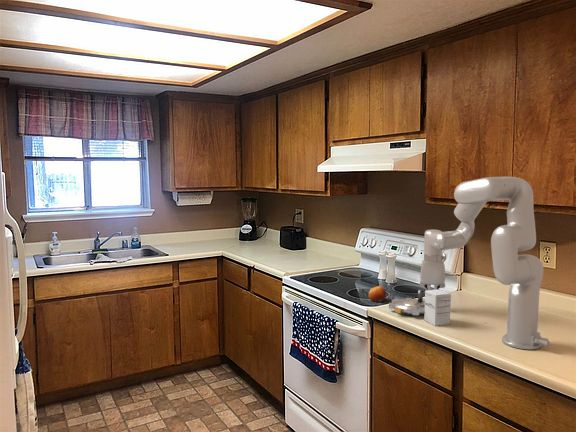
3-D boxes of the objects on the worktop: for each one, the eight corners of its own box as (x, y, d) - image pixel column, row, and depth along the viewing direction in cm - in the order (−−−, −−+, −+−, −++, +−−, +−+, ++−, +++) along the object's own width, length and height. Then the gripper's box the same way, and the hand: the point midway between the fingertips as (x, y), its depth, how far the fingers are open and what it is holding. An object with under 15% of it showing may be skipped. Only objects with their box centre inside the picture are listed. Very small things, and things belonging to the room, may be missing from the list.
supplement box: (423, 320, 189) (424, 290, 188) (439, 318, 191) (439, 288, 190) (434, 326, 182) (435, 295, 181) (450, 324, 184) (451, 293, 183)
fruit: (386, 301, 212) (378, 285, 213) (372, 308, 216) (363, 292, 217) (391, 297, 219) (383, 281, 220) (378, 303, 223) (369, 288, 224)
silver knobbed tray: (444, 309, 199) (445, 293, 199) (417, 318, 187) (417, 301, 186) (407, 299, 214) (407, 284, 214) (379, 307, 202) (379, 291, 201)
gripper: (451, 257, 201) (450, 299, 203) (416, 255, 207) (415, 296, 209) (451, 261, 194) (449, 303, 196) (414, 258, 200) (413, 300, 202)
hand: (432, 299), depth 202 cm, fingers closed
